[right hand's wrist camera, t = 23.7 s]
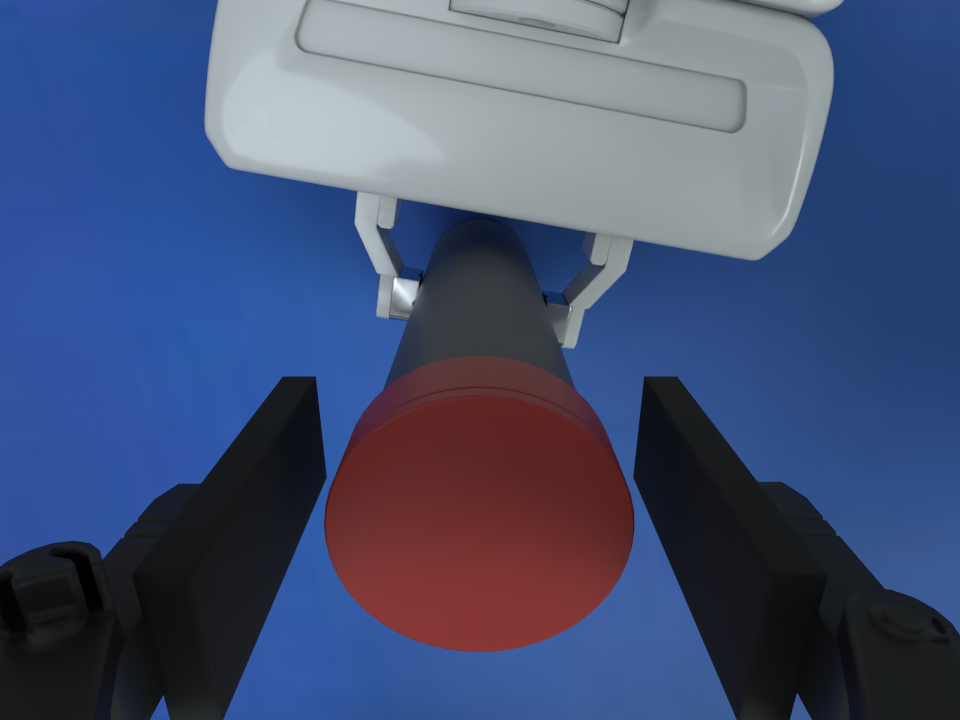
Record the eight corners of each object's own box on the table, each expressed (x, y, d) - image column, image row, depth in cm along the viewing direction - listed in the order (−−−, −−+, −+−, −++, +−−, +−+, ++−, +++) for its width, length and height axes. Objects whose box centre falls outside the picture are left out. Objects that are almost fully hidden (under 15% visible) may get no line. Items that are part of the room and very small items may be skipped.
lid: (305, 526, 13) (278, 589, 11) (414, 305, 11) (402, 339, 9) (531, 617, 14) (538, 688, 12) (665, 427, 12) (697, 479, 10)
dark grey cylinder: (472, 335, 31) (462, 647, 13) (409, 262, 29) (295, 494, 11) (549, 276, 30) (659, 525, 12) (487, 197, 28) (500, 338, 10)
